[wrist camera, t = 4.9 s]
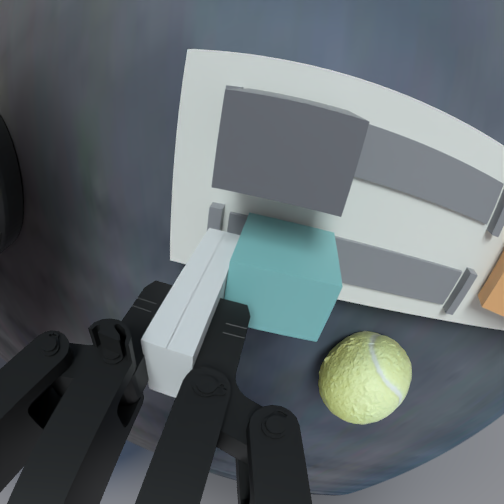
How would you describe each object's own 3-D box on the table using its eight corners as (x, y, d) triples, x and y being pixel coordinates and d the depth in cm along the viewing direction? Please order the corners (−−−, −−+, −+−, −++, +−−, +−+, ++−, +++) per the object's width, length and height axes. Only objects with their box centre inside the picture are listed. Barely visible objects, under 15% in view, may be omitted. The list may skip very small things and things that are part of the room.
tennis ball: (359, 447, 17) (434, 411, 13) (288, 416, 17) (364, 370, 13) (363, 384, 22) (423, 342, 19) (305, 349, 22) (364, 297, 18)
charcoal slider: (238, 156, 12) (211, 187, 9) (249, 88, 10) (225, 89, 7) (330, 177, 12) (341, 217, 9) (347, 110, 10) (369, 121, 7)
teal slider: (239, 265, 15) (220, 320, 12) (249, 212, 13) (229, 261, 10) (316, 282, 15) (316, 341, 12) (334, 232, 13) (342, 286, 10)
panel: (182, 242, 18) (160, 274, 15) (202, 52, 12) (174, 45, 9) (529, 320, 16) (544, 346, 14) (586, 216, 10) (609, 237, 8)
